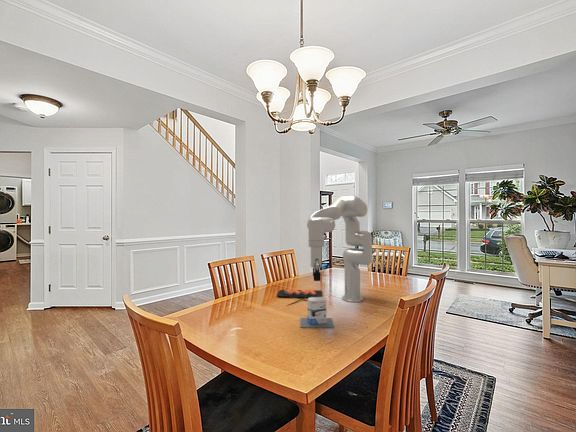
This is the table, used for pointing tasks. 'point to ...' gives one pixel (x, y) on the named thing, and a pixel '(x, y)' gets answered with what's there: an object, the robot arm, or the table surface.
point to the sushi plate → (299, 294)
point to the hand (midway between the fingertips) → (316, 278)
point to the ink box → (316, 310)
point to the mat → (306, 324)
